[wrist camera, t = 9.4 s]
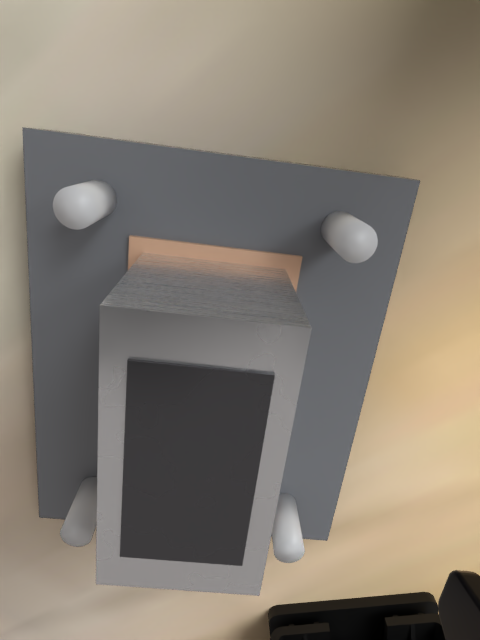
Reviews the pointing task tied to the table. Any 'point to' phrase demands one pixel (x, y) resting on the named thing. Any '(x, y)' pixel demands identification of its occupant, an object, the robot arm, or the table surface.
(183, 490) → the drive
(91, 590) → the table surface
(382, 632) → the end cap
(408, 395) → the table surface
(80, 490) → the tray
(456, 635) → the robot arm
